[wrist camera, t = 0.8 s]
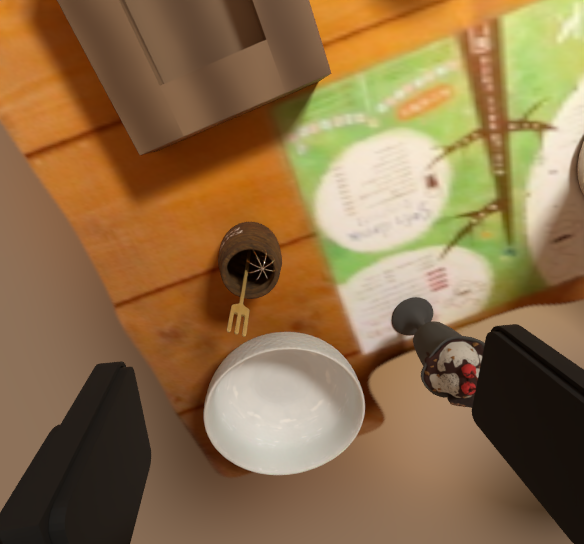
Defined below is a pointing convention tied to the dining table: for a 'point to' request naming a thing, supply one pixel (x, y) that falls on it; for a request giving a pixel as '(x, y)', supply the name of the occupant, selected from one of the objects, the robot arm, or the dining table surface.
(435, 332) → the sundae
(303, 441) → the cereal bowl
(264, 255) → the utensil holder
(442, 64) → the dining table surface
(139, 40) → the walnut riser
